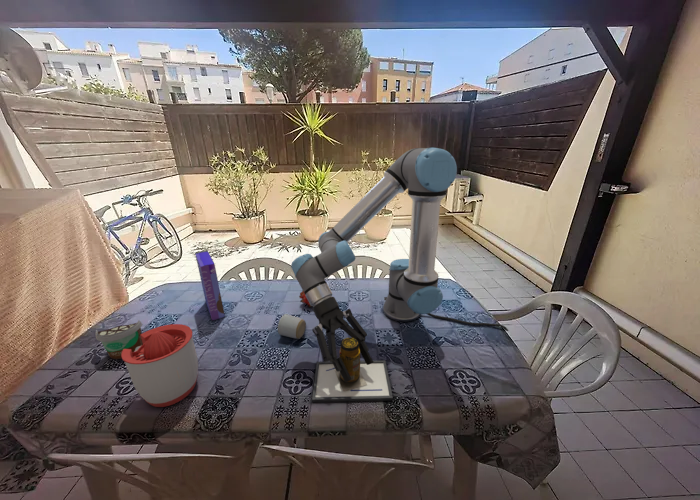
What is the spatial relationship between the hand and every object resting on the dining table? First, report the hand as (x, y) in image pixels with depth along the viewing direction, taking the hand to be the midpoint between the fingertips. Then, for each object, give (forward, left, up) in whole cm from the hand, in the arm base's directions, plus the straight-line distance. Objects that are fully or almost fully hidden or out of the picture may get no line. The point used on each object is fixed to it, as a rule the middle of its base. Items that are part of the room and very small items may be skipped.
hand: (359, 371), depth 77 cm
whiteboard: (+2, -1, -5) cm, 5 cm away
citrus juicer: (+54, +1, -5) cm, 54 cm away
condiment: (+3, -2, -4) cm, 6 cm away
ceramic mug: (+23, -24, -5) cm, 34 cm away
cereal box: (+60, -41, -5) cm, 73 cm away
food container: (+78, -14, -5) cm, 80 cm away
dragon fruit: (+18, -44, -5) cm, 48 cm away
